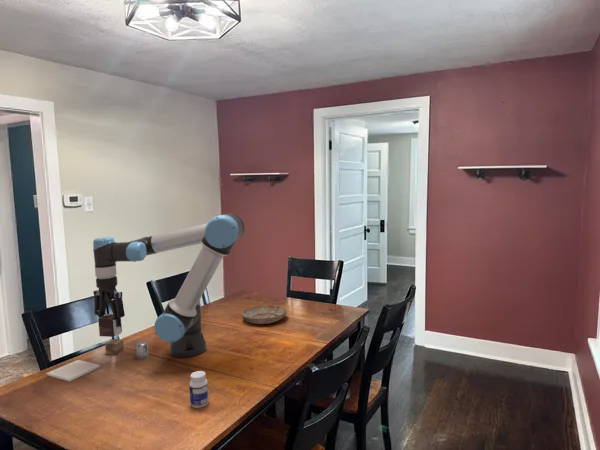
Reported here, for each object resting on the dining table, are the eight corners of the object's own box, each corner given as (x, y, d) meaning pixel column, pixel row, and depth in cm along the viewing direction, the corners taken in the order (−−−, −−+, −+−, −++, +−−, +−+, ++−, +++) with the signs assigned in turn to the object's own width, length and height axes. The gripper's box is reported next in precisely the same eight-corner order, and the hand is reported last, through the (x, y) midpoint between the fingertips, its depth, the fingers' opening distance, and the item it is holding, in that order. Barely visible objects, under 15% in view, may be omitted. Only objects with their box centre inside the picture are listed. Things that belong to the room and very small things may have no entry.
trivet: (100, 367, 161) (100, 365, 161) (69, 381, 149) (69, 379, 149) (78, 361, 166) (77, 359, 166) (46, 375, 155) (46, 373, 155)
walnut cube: (123, 350, 177) (123, 339, 176) (116, 355, 172) (115, 344, 172) (113, 350, 178) (112, 339, 177) (106, 354, 173) (105, 343, 172)
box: (112, 337, 159) (111, 319, 159) (99, 336, 161) (97, 318, 160) (122, 331, 165) (121, 314, 165) (109, 331, 167) (107, 313, 166)
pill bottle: (192, 399, 134) (190, 370, 133) (209, 398, 135) (208, 369, 134) (188, 409, 128) (187, 378, 128) (207, 407, 129) (205, 377, 128)
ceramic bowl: (295, 317, 217) (295, 308, 216) (268, 331, 197) (268, 320, 197) (260, 311, 229) (260, 302, 229) (232, 323, 210) (232, 313, 209)
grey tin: (150, 356, 170) (149, 342, 170) (142, 360, 166) (141, 346, 166) (142, 354, 172) (142, 340, 172) (134, 358, 168) (133, 344, 168)
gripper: (132, 276, 160) (136, 333, 162) (97, 273, 169) (101, 327, 171) (116, 280, 153) (120, 339, 155) (80, 277, 162) (85, 333, 164)
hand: (111, 333), depth 163 cm, fingers closed on box, 7 cm apart
